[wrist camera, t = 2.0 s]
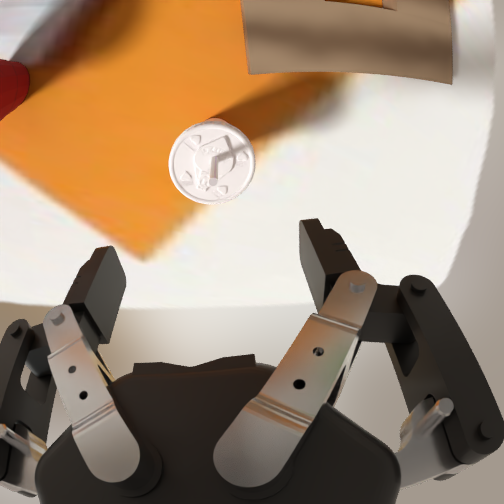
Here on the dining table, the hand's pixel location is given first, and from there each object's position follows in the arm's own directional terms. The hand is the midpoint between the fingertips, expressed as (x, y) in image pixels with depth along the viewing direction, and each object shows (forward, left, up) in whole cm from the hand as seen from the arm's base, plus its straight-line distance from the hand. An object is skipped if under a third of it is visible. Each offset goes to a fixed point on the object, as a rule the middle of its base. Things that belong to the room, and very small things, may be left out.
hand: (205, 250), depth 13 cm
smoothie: (0, 0, -20) cm, 20 cm away
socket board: (-17, +15, -20) cm, 30 cm away
